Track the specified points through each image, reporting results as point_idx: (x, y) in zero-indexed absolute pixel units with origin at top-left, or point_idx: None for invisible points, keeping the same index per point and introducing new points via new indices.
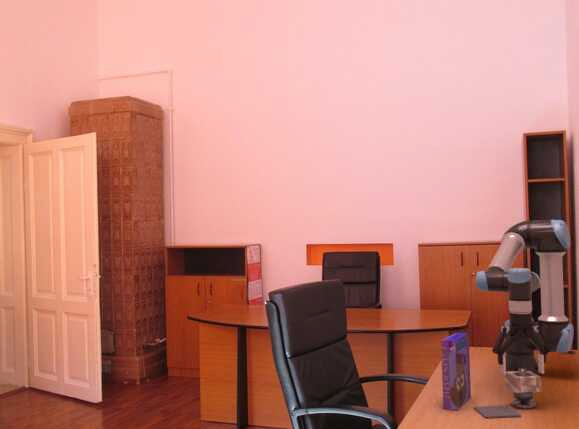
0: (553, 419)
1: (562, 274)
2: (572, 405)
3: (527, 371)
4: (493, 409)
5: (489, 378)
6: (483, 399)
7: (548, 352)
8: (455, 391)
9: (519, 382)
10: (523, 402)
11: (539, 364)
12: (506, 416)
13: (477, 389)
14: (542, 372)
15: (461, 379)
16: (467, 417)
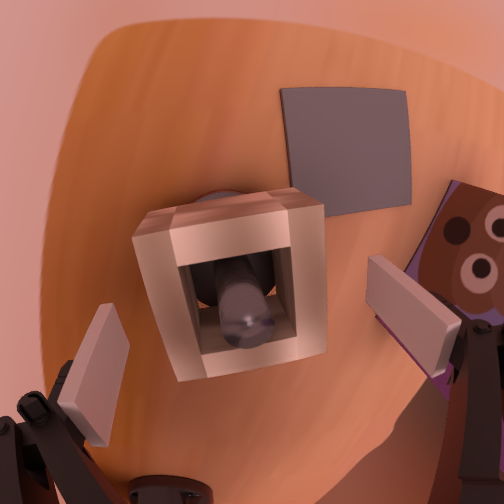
0: (157, 62)
1: None
2: (44, 254)
3: (193, 370)
4: (362, 168)
5: (253, 468)
6: (344, 308)
7: (20, 423)
8: (498, 194)
9: (287, 200)
10: None
11: (114, 368)
12: (337, 87)
13: (320, 397)
14: (108, 306)
15: (488, 264)
16: (441, 114)
